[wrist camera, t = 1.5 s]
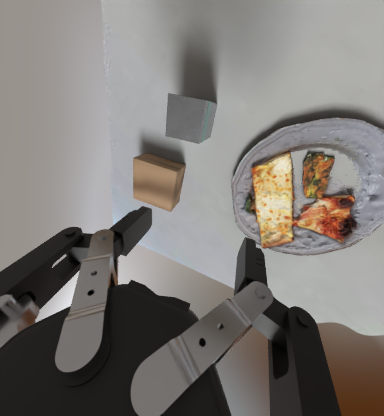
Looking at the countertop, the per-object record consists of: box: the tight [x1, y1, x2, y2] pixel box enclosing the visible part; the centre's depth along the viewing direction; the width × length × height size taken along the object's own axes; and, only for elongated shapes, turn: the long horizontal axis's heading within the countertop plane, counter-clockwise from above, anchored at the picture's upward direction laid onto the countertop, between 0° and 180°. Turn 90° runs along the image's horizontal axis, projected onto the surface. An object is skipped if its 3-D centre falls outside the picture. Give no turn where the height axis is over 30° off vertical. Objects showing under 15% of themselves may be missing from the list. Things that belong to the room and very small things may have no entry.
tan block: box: [133, 153, 186, 212], centre depth 34 cm, size 9×9×5 cm
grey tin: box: [166, 93, 217, 144], centre depth 24 cm, size 5×5×8 cm
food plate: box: [231, 117, 384, 255], centre depth 28 cm, size 25×23×4 cm
